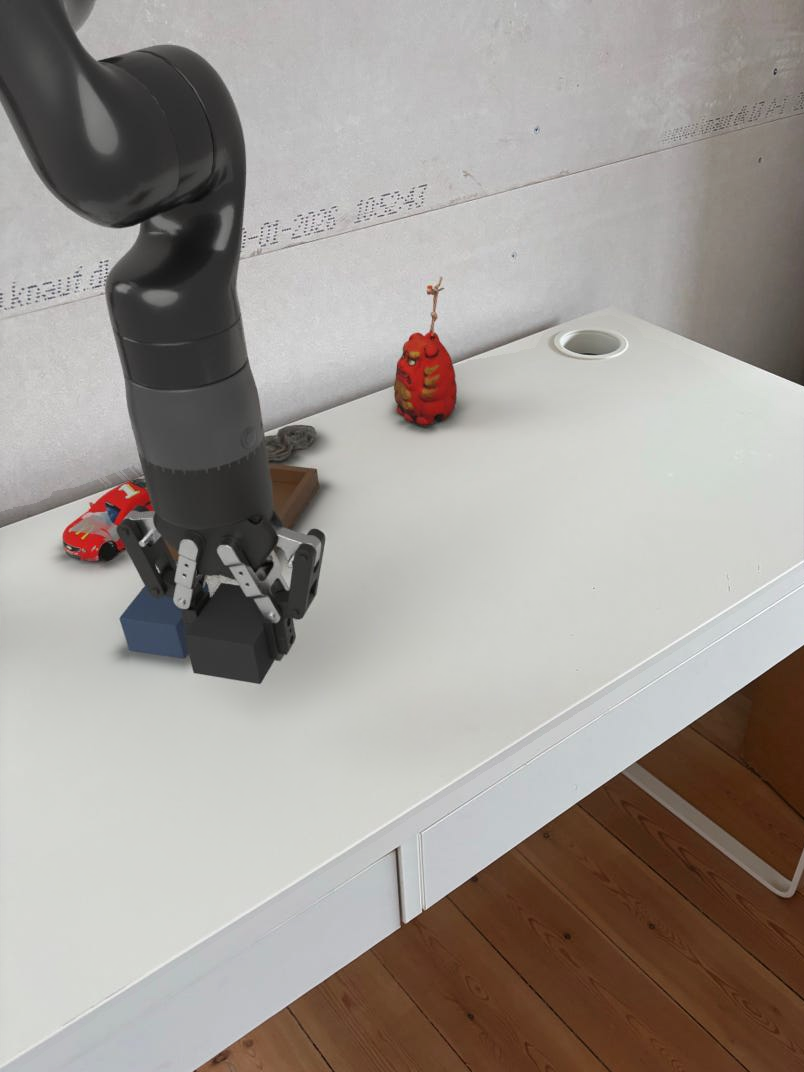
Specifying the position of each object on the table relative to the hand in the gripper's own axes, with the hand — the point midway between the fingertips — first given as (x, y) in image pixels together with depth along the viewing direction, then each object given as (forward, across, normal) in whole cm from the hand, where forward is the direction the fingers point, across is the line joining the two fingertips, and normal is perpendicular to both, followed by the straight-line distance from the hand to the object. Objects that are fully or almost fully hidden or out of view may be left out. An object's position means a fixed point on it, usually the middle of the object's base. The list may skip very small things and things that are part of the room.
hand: (243, 646), depth 72 cm
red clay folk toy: (+8, +1, -51) cm, 52 cm away
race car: (+9, +23, -22) cm, 33 cm away
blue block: (+8, +12, -9) cm, 17 cm away
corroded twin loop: (+8, +14, -40) cm, 43 cm away
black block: (0, 0, 0) cm, 0 cm away
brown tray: (+8, +13, -26) cm, 30 cm away
